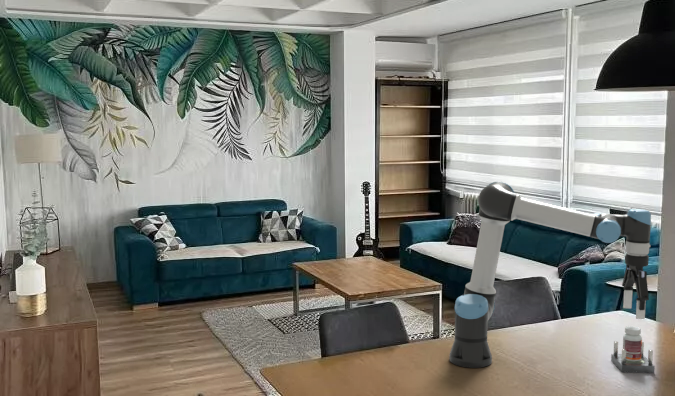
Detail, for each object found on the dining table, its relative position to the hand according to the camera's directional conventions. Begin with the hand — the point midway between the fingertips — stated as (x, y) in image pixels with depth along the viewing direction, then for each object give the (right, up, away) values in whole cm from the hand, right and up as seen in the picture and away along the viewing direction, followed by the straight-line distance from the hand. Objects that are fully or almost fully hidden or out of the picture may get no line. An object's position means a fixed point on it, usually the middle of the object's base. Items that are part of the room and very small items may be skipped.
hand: (633, 313), depth 251 cm
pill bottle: (0, -17, +2) cm, 17 cm away
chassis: (0, -19, +2) cm, 19 cm away
